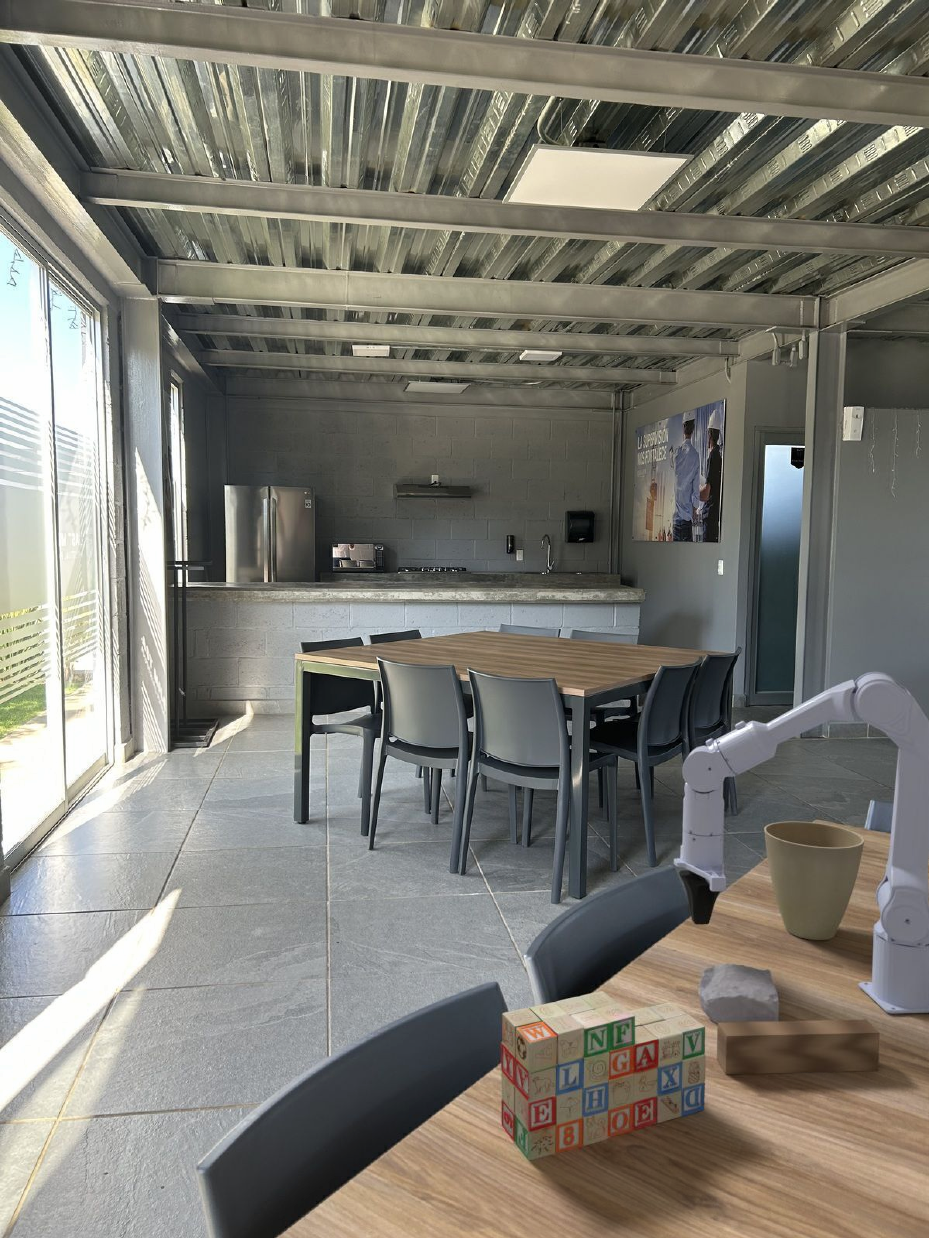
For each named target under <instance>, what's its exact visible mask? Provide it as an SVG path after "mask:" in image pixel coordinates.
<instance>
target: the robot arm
mask: <svg viewBox="0 0 929 1238" xmlns="http://www.w3.org/2000/svg"><path fill="white" fill-rule="evenodd" d="M854 714H857V716H858V717H859V718H860V719H861V720H862V721H863V722H864V723H866V724H867V725H870V726H872V727H874V728H875V729H878V730H879V731H881V732H883V733H885V735H886V736H887V737H888V738H889V739H890V740H891V741H892V742H893V743H894V744H895V745H896V746H897V747H898V750H897V751H898V752H897V761H896V762H897V763H896V772H895V784H894V796H893V797H894V798H893V806H892V818H891V819H892V820H891V829H890V841H889V851H888V859H887V862H886V867H885V875H884V876H883V877H884V878H883V880H882V881H881V882H880V883H879V884H878V887H877V889H876V892H875V898H876V904H877V906H878V908H879V913H880V914H879V915H880V916H879V917H880V918H879V920H877V922H876V923H874V925H873V939H872V941H873V942H872V943H873V944H872V945H873V946H872V971H871V972H872V973H871V981H861V982H859V983H858V987H859V988H860V989H861V990H862V991H863V992H864V993H866V995H868V996H869V997H870V998H871V999H872V1000H873V1001H874V1002H875V1003H877V1005H878V1006H880V1007H881V1008H882V1009H883V1010H884V1011H885V1012H886V1013H888V1014H924V1013H925V1014H927V1013H929V876H928V875H929V874H928V873H929V872H928V867H929V719H928V717H927V716H926V714H925V713H924V712H923V710H922V708H921V707H920V705H919V703H918V702H917V700H916V699H915V697H914V696H913V695H912V694H911V692H910V691H909V690H908V689H907V688H906V687H905V686H903V685H902V684H901V683H900V682H899V681H897V680H896V679H895V678H894V677H893V676H890V675H889V674H887V673H885V672H881V671H871V672H865V673H864V674H862V675H860V676H859V677H858V678H857V679H856V680H855V681H854V679H850V680H847V681H844V682H841V683H840V684H837V685H834V686H832V687H830V688H829V689H826V690H824V691H822V692H821V693H819V694H817V695H815V696H813V697H812V698H810V699H808V700H806V701H805V702H803V703H801V704H799V705H798V706H796V707H794V708H792V709H791V710H789V711H787V712H785V713H783V714H781V715H780V716H778V717H777V718H774V719H772V720H770V721H768V722H767V723H763V722H760V721H756V720H751V721H749V722H746V721H744V720H741V721H740V722H738V723H736V724H735V726H734V728H735V729H734V730H731V731H730V732H727V733H725V734H723V735H722V736H719V737H718V738H716V739H714V738H709V739H707V740H706V741H705V744H706V746H705V745H700V746H697V747H696V748H694V749H693V750H691V752H690V753H689V754H688V756H686V759H685V760H684V761H683V765H682V771H681V773H682V778H683V780H684V786H683V787H684V796H683V802H682V804H683V805H682V806H683V807H682V844H681V845H680V852H679V853H680V855H679V857H677V858H673V864H674V865H675V867H677V868H683V870H680V871H679V872H678V874H679V877H680V879H681V881H682V883H683V886H684V889H685V892H686V896H687V901H688V906H689V907H688V908H689V911H690V916H691V917H690V918H691V921H692V923H693V924H694V925H709V923H710V921H711V918H712V915H713V910H714V908H715V905H716V901H717V899H718V897H719V895H720V893H721V892H727V877H726V876H725V861H724V825H725V823H724V822H725V799H724V781H725V778H726V777H729V778H730V777H731V778H732V777H736V776H738V775H740V774H742V773H744V772H746V771H748V770H751V769H752V768H754V767H756V766H759V765H760V764H762V763H764V762H767V761H768V760H770V759H772V758H774V757H775V754H776V751H777V747H778V745H779V744H781V743H783V742H786V741H788V740H790V739H792V738H794V737H796V736H798V735H800V734H803V733H805V732H807V731H810V730H811V729H814V728H816V727H818V726H821V725H822V724H824V723H826V722H829V721H841V722H849V723H854V722H855V718H854ZM684 869H686V870H684Z"/></svg>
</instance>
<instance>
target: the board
mask: <svg viewBox="0 0 929 1238" xmlns="http://www.w3.org/2000/svg"><path fill="white" fill-rule="evenodd" d="M880 1034H881V1033H880V1031H878V1030H877V1029H876V1027H875V1026H873V1025H872V1024H871V1023H870V1021H868V1019H841V1020H840V1019H835V1020H834V1019H831V1020H830V1019H828V1020H825V1019H824V1020H823V1019H822V1020H781V1021H773V1022H725V1023H717V1033H716V1061H717V1062H718V1065H719V1066H720V1068H721V1069H722V1071H723V1072H724V1074H725V1075H747V1074H748V1075H749V1074H750V1075H751V1074H752V1075H754V1074H755V1075H757V1074H791V1073H792V1074H793V1073H794V1074H795V1073H831V1072H835V1073H836V1072H868V1071H869V1072H870V1071H871V1072H873V1071H877V1072H878V1071H879V1065H880V1064H879V1062H880V1061H879V1059H880V1036H881V1035H880Z"/></svg>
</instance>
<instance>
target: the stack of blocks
mask: <svg viewBox="0 0 929 1238" xmlns="http://www.w3.org/2000/svg"><path fill="white" fill-rule="evenodd" d="M501 1018H502V1020H501V1022H502V1023H501V1024H502V1025H501V1026H502V1029H501V1033H502V1034H501V1035H502V1037H501V1039H502V1041H501V1042H500V1070H501V1102H500V1104H501V1109H500V1110H501V1116H500V1117H501V1118H500V1119H501V1120H500V1122H501V1127H503V1129H504V1131H505V1132H506V1133H507V1135H508V1136H509V1137H510V1139H511V1140H512V1141H513V1143H515V1145H516V1146H517V1147H518V1149H519V1150H520V1152H521V1153H522V1154H523V1155H524V1157H525V1158H526V1159H527V1161H533V1160H537V1159H539V1158H544V1157H548V1156H550V1155H555V1154H560V1153H563V1152H567V1151H570V1150H571V1151H572V1150H574V1149H577V1148H580V1147H581V1148H582V1147H585V1146H588V1145H592V1144H595V1143H599V1142H602V1141H605V1140H609V1138H614V1137H616V1136H618V1135H624V1134H626V1133H630V1132H632V1131H635V1130H638V1129H642V1128H643V1129H644V1128H646V1127H649V1126H652V1125H655V1124H660V1123H663V1122H667V1121H671V1120H674V1119H677V1118H681V1117H684V1116H688V1115H691V1114H695V1113H698V1112H702V1111H703V1110H705V1098H706V1095H705V1094H706V1065H707V1063H706V1062H707V1061H706V1058H707V1057H706V1056H707V1055H706V1026H704V1024H702V1023H701V1022H699V1021H698V1020H696V1018H694V1017H692V1016H691V1015H690V1014H688V1013H687V1012H685V1011H683V1010H682V1009H681V1008H679V1007H678V1006H677V1005H676V1004H674V1003H672V1001H668V1002H664V1003H659V1004H656V1005H651V1006H645V1007H641V1008H640V1007H639V1008H637V1009H633V1010H628V1009H627V1008H626V1007H624V1006H623V1005H622V1004H620V1003H619V1002H617V1001H615V1000H614V999H613V998H611V997H610V996H609V995H608V994H607V993H606V992H604V991H603V990H600V991H595V992H591V993H587V994H583V995H580V996H574V997H573V996H572V997H570V998H565V999H561V1000H557V1001H554V1002H548V1003H544V1004H539V1005H535V1006H531V1007H526V1008H525V1007H523V1008H519V1009H516V1010H511V1011H510V1010H509V1011H506V1012H503V1013H502V1014H501Z"/></svg>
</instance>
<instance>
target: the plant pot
mask: <svg viewBox="0 0 929 1238" xmlns="http://www.w3.org/2000/svg"><path fill="white" fill-rule="evenodd" d="M763 829H764V831H763V832H764V841H765V849H766V856H767V863H768V868H769V869H768V870H769V875H770V879H771V884H772V888H773V892H774V896H775V900H776V902H777V906H778V910H779V913H780V917H781V918H782V922H783V925H784V927H785V930H786V931H787V932H788V933H790V934H791V935H794V936H796V937H799V938H803V939H806V940H812V941H826V940H827V941H828V940H830V939H832V938H834V937H835V935H836V933H837V931H838V929H839V927H840V924H841V922H842V920H843V919H844V915H845V913H846V911H847V908H848V905H849V903H850V900H851V897H852V894H853V892H854V891H853V890H854V888H855V885H856V882H857V881H856V880H857V877H858V873H859V869H860V864H861V859H862V856H863V849H864V844H865V839H864V837H863V836H862V835H861V834H859V833H857V832H855V831H852V830H850V829H847V828H843V827H841V826H837V825H831V824H827V823H819V822H810V821H792V820H791V821H780V822H773V823H769V824H767V825H766V826H764V828H763Z"/></svg>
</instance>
